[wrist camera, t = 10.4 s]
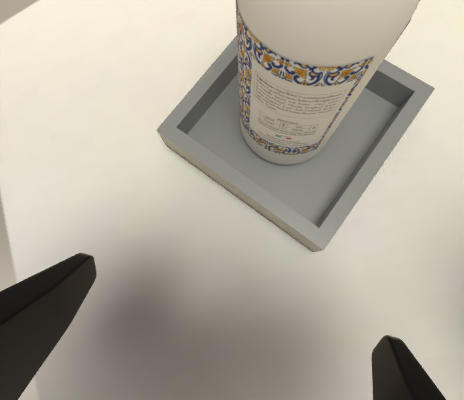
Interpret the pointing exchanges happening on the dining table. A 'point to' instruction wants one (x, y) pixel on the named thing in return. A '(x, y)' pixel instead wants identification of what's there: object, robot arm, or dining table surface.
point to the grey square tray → (301, 174)
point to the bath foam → (308, 67)
